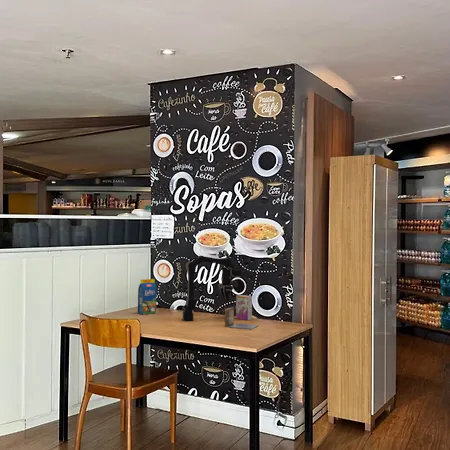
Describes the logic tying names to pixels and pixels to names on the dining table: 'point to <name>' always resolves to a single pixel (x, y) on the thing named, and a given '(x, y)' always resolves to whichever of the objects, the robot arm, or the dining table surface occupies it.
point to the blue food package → (147, 296)
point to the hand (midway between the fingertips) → (225, 299)
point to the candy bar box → (243, 307)
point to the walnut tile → (229, 317)
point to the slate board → (243, 326)
